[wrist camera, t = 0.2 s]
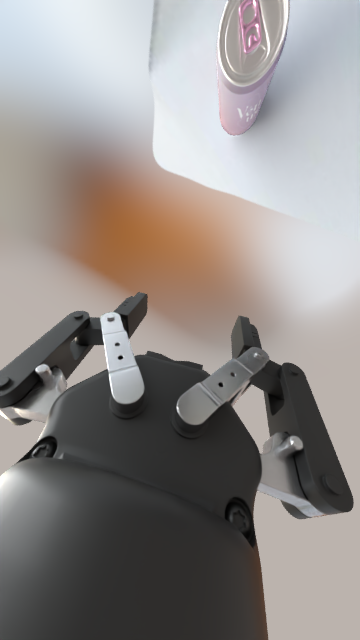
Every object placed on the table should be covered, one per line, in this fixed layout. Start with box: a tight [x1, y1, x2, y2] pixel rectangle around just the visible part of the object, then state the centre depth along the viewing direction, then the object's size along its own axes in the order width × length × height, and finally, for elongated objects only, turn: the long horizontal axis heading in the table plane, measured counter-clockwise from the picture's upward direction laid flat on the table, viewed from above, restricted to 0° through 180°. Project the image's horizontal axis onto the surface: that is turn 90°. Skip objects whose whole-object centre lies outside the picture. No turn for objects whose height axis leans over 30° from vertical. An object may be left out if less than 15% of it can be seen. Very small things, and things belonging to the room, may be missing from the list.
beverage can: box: [216, 0, 290, 135], centre depth 20 cm, size 6×6×15 cm
